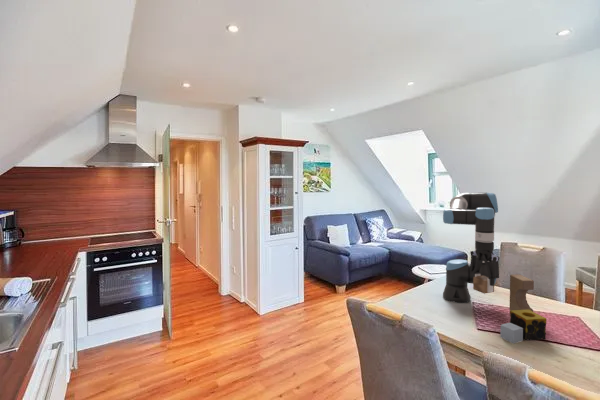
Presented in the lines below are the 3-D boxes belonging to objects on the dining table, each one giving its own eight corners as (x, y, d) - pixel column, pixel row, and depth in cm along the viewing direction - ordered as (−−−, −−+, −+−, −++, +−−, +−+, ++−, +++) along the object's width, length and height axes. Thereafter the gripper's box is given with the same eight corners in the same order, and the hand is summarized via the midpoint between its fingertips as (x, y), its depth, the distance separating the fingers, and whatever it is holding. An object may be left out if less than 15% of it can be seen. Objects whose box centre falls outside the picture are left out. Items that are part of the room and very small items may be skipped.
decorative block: (533, 318, 161) (534, 280, 160) (522, 318, 161) (522, 280, 160) (519, 309, 172) (520, 274, 171) (508, 309, 172) (509, 274, 171)
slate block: (500, 337, 144) (500, 324, 143) (509, 335, 146) (509, 322, 145) (513, 343, 138) (513, 330, 138) (522, 341, 140) (522, 328, 140)
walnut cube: (473, 289, 149) (473, 276, 149) (482, 287, 151) (483, 275, 150) (484, 293, 143) (484, 280, 143) (494, 291, 145) (494, 279, 145)
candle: (508, 330, 150) (508, 310, 149) (528, 329, 151) (528, 308, 150) (525, 341, 140) (525, 319, 139) (546, 339, 141) (547, 318, 140)
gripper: (461, 238, 153) (461, 284, 155) (497, 245, 135) (496, 297, 137) (473, 236, 156) (472, 282, 157) (510, 244, 138) (508, 295, 139)
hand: (483, 289), depth 147 cm, fingers closed on walnut cube, 6 cm apart
